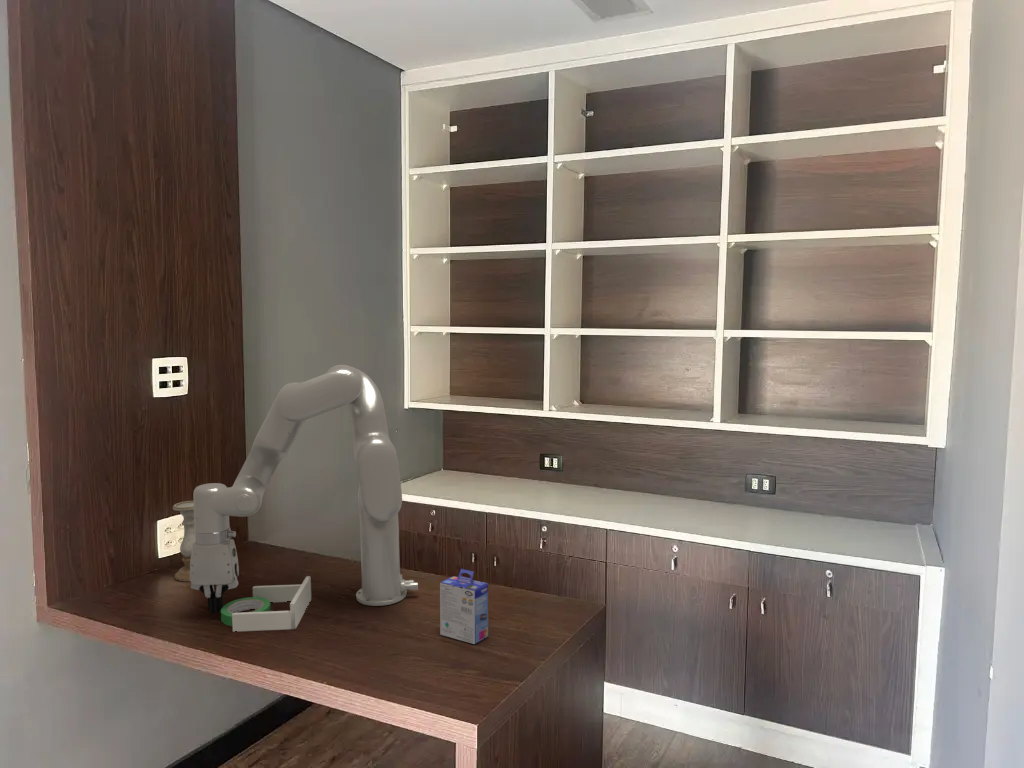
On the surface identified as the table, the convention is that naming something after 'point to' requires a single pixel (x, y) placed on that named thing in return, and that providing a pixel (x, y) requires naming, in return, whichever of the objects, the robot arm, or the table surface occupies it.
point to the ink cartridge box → (464, 608)
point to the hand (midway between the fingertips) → (215, 611)
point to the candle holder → (186, 537)
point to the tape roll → (243, 607)
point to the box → (276, 619)
